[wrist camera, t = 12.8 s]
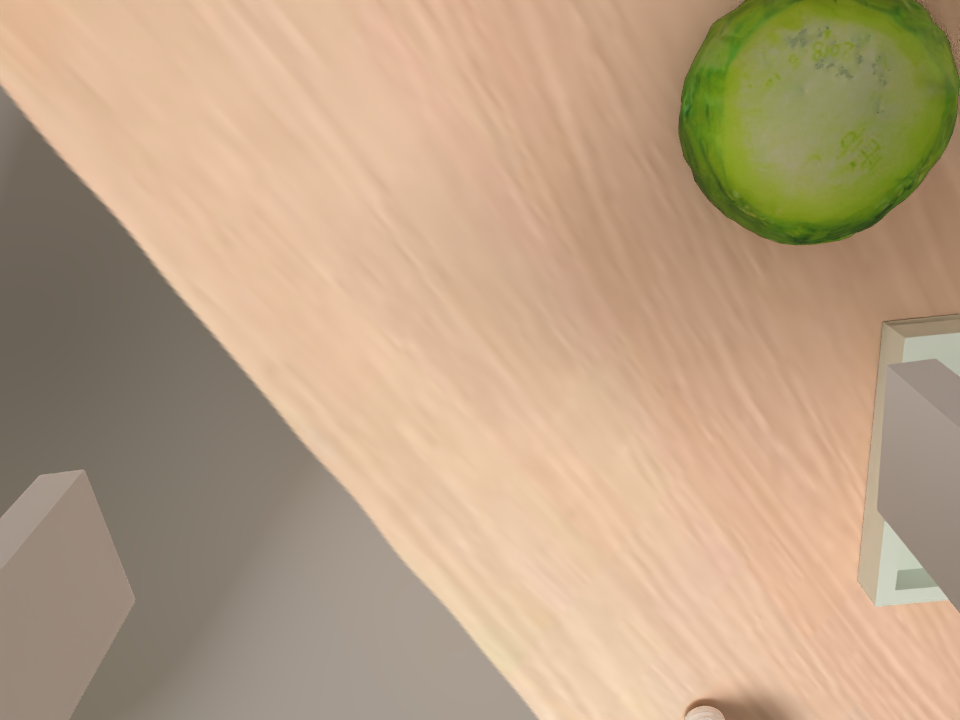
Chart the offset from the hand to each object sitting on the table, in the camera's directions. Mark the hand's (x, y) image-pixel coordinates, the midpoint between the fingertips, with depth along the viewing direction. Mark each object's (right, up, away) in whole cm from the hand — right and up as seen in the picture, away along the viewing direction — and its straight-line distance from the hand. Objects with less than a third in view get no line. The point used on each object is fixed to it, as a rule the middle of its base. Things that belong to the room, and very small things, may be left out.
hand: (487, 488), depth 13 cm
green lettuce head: (+14, +13, +23) cm, 31 cm away
